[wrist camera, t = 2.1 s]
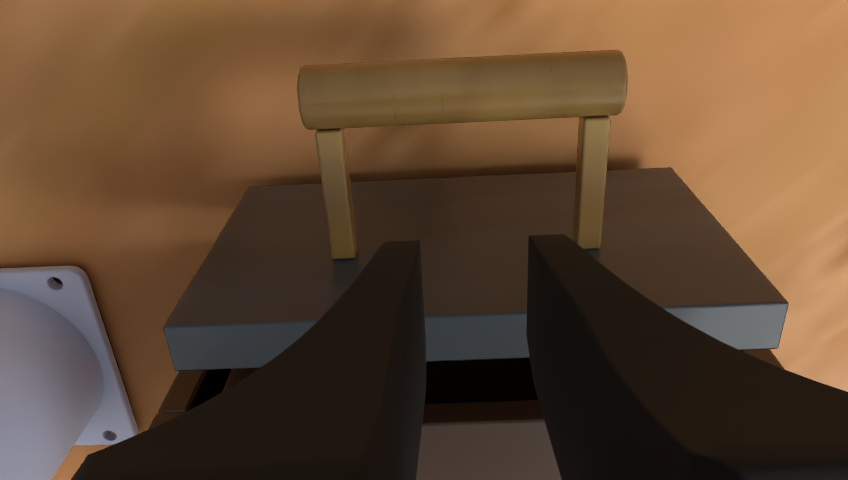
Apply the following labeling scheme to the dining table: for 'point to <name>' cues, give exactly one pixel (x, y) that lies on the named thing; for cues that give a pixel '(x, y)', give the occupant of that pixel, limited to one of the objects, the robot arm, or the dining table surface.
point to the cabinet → (440, 431)
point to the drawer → (463, 228)
